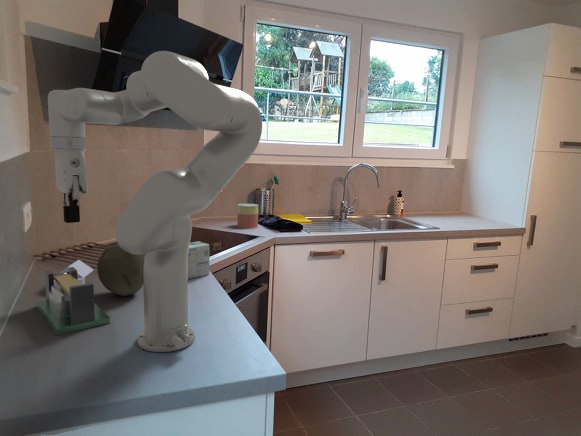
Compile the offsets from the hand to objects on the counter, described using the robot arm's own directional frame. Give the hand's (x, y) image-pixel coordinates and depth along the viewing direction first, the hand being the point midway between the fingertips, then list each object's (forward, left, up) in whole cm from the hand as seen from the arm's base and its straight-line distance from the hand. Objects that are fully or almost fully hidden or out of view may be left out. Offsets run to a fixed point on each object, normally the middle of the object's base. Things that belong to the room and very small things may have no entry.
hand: (72, 221), depth 108 cm
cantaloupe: (+12, -16, -25) cm, 32 cm away
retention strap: (+5, 0, -18) cm, 18 cm away
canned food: (+83, -109, -25) cm, 139 cm away
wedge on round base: (+28, -6, -25) cm, 38 cm away
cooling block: (+4, 0, -25) cm, 25 cm away
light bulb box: (+19, -41, -25) cm, 52 cm away
